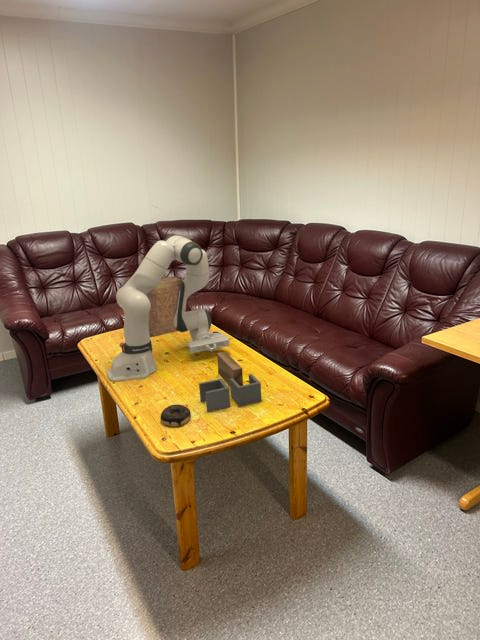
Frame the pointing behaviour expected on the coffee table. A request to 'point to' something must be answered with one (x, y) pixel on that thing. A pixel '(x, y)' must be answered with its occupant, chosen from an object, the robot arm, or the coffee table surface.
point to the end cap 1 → (214, 394)
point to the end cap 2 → (246, 391)
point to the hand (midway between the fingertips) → (213, 349)
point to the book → (163, 306)
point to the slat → (229, 368)
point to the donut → (175, 415)
